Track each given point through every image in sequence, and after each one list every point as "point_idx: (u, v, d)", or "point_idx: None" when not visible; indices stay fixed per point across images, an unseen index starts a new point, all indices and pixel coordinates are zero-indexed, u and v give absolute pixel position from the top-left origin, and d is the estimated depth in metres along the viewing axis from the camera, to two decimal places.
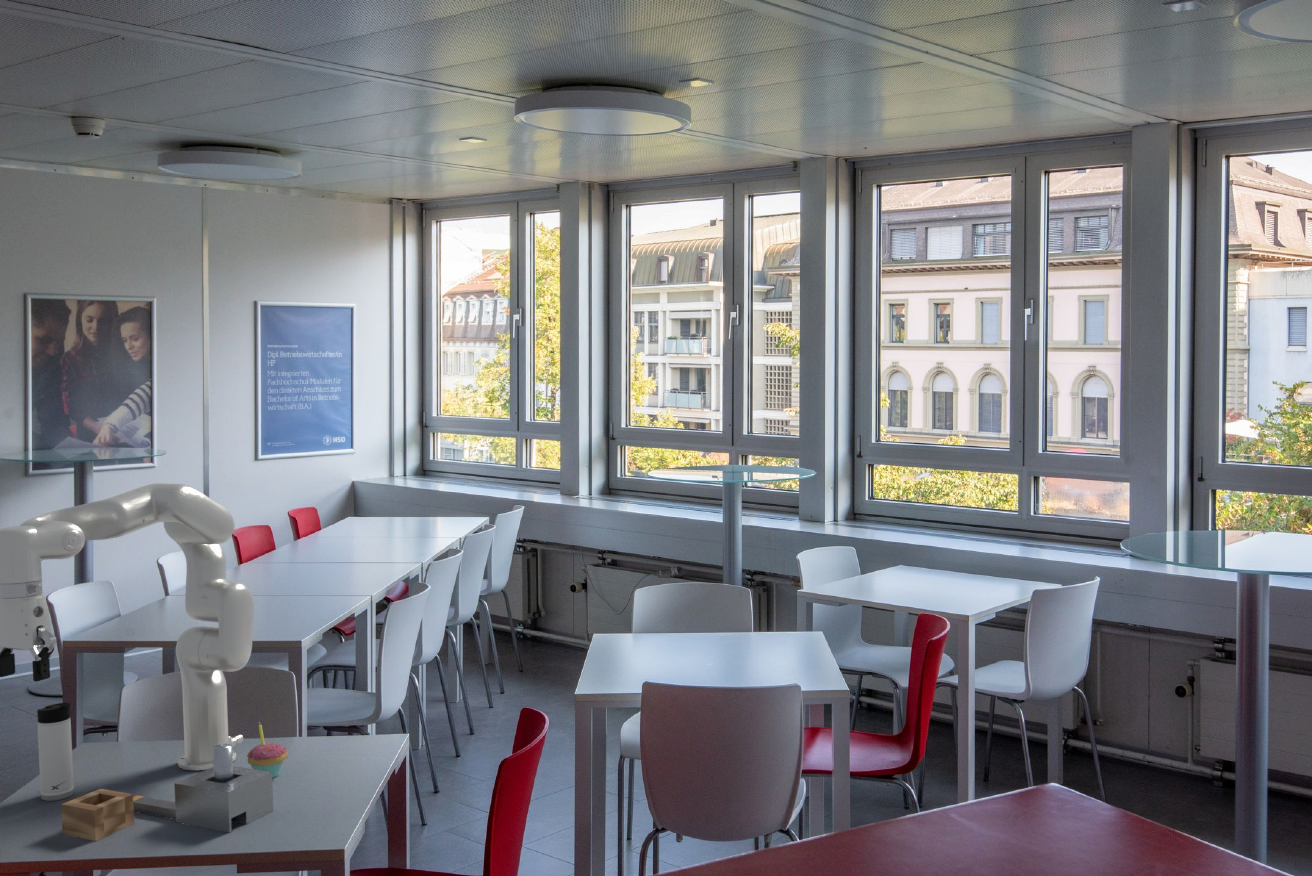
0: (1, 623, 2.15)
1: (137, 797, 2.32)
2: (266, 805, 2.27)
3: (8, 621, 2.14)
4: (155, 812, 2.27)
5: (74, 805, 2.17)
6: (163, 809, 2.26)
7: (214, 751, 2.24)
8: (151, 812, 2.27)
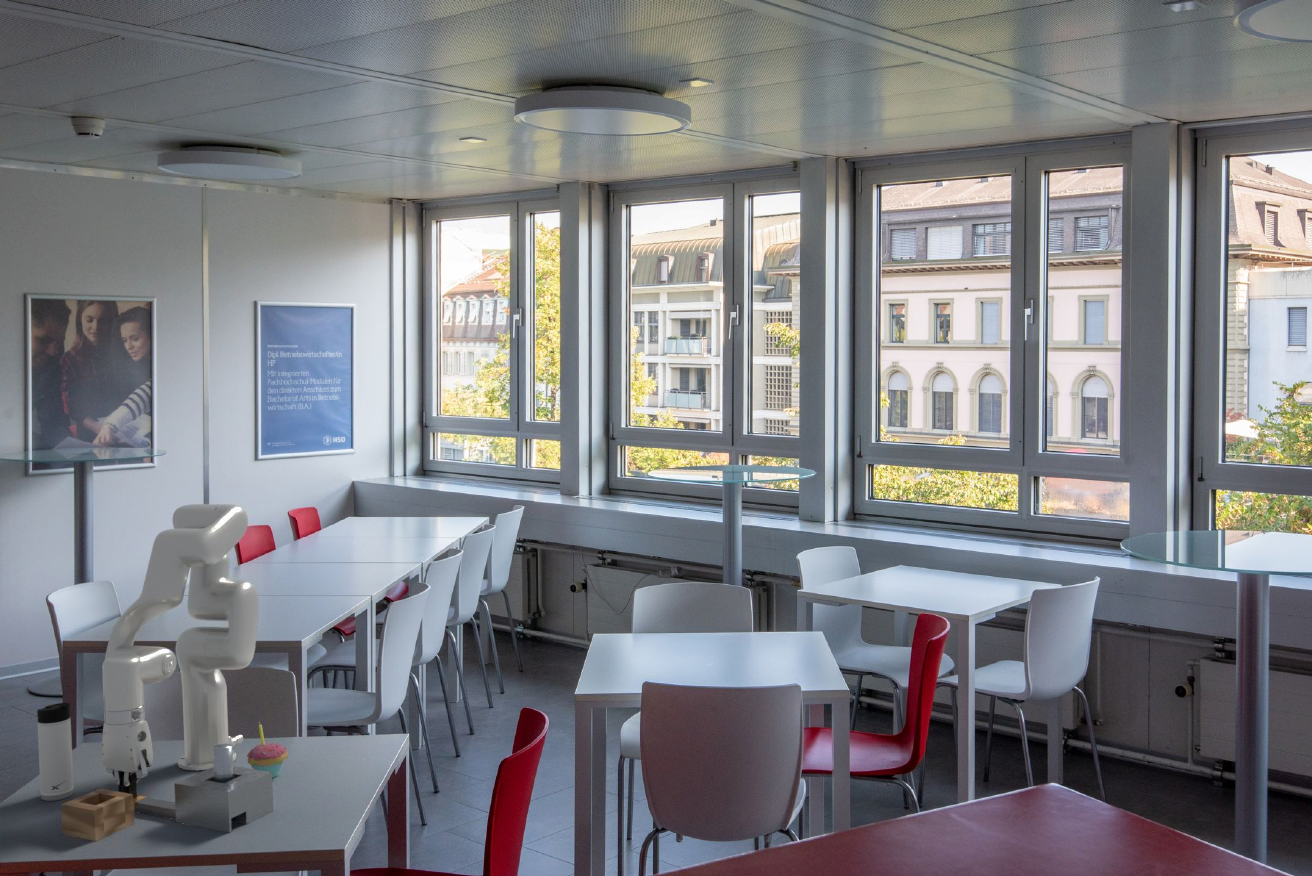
0: (107, 746, 2.30)
1: (139, 797, 2.32)
2: (266, 805, 2.27)
3: (114, 745, 2.29)
4: (158, 812, 2.27)
5: (74, 805, 2.17)
6: (165, 810, 2.26)
7: (214, 751, 2.24)
8: (154, 812, 2.27)
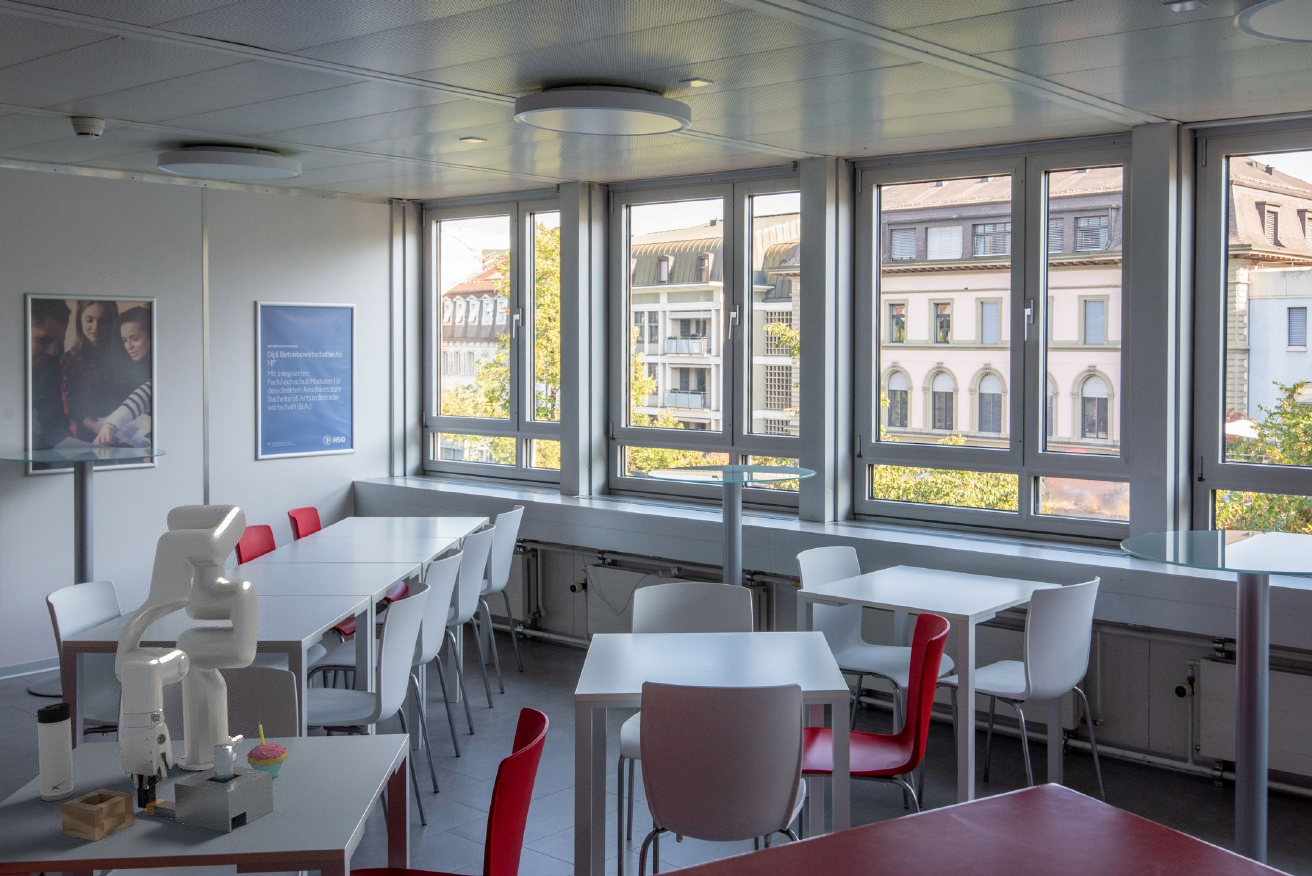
0: (126, 749, 2.28)
1: (159, 801, 2.29)
2: (266, 805, 2.27)
3: (133, 748, 2.27)
4: None
5: (74, 805, 2.17)
6: None
7: (214, 751, 2.24)
8: (174, 816, 2.25)
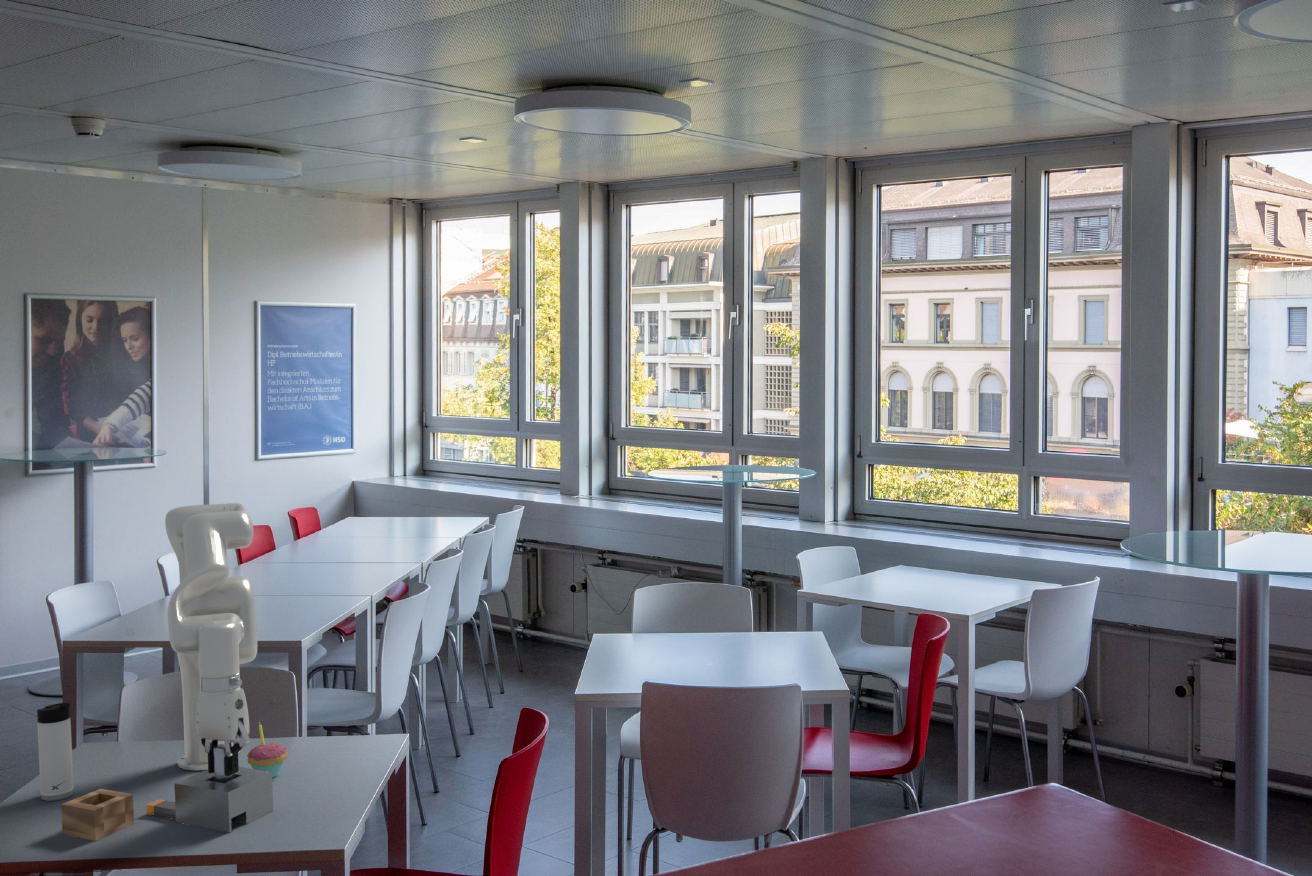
0: (202, 715, 2.24)
1: (159, 801, 2.29)
2: (266, 805, 2.27)
3: (210, 713, 2.23)
4: None
5: (74, 805, 2.17)
6: None
7: (214, 751, 2.24)
8: (174, 816, 2.25)
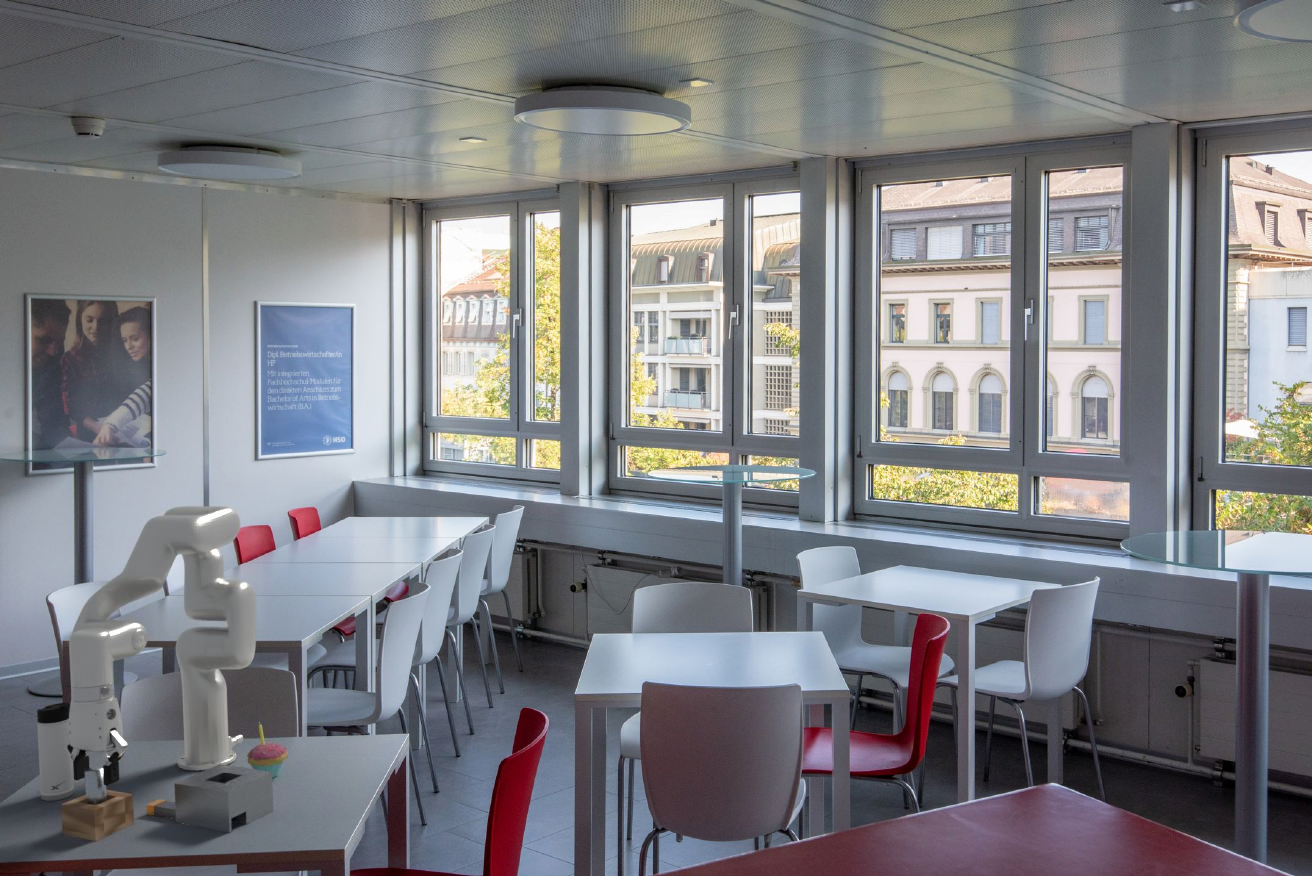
0: (74, 725, 2.19)
1: (159, 801, 2.29)
2: (266, 805, 2.27)
3: (81, 723, 2.18)
4: None
5: (74, 805, 2.17)
6: None
7: (85, 774, 2.19)
8: (174, 816, 2.25)
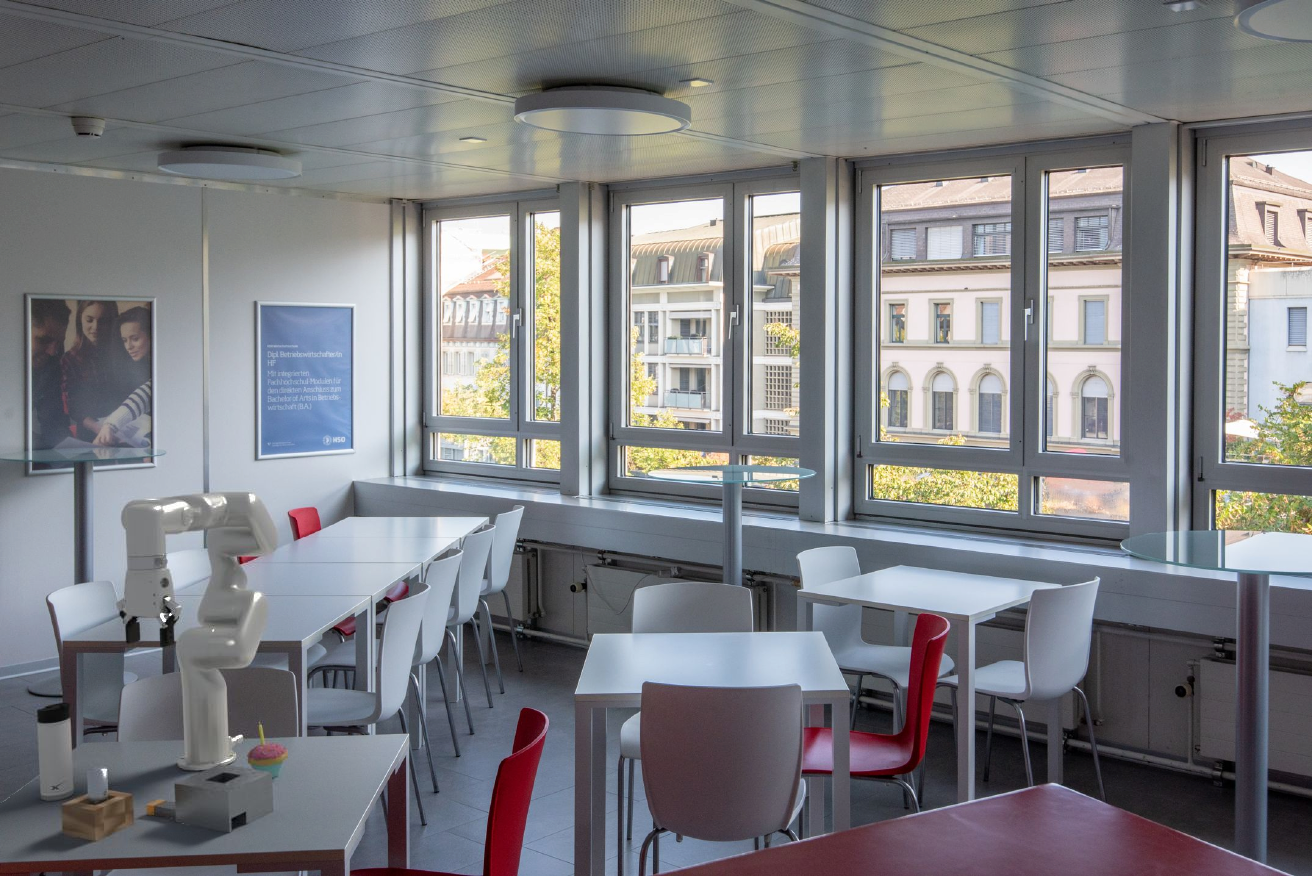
0: (130, 593, 2.33)
1: (159, 801, 2.29)
2: (266, 805, 2.27)
3: (136, 591, 2.32)
4: None
5: (74, 805, 2.17)
6: None
7: (88, 774, 2.19)
8: (174, 816, 2.25)
